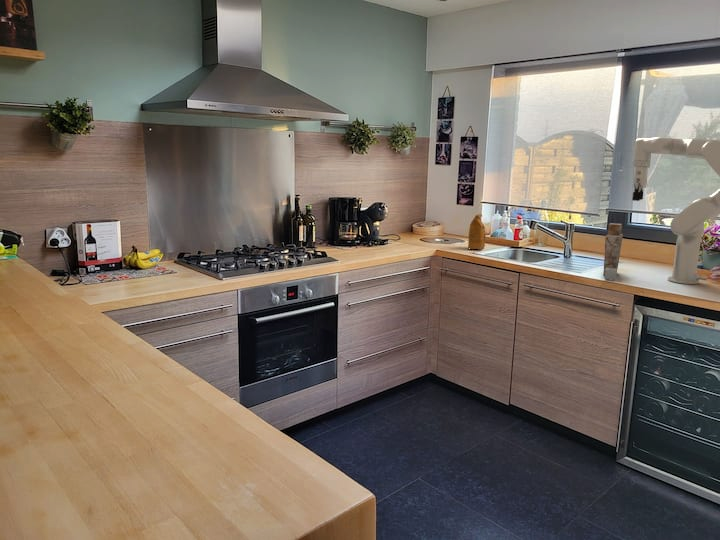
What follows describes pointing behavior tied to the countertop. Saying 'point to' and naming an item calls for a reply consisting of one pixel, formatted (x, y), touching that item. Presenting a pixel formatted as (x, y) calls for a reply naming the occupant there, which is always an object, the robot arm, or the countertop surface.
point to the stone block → (612, 251)
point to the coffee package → (477, 234)
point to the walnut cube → (614, 229)
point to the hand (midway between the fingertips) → (637, 200)
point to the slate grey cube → (610, 273)
